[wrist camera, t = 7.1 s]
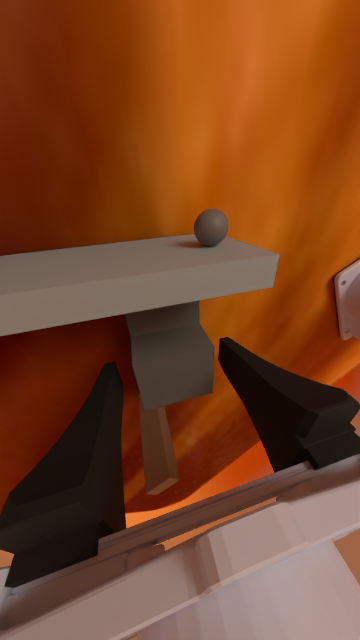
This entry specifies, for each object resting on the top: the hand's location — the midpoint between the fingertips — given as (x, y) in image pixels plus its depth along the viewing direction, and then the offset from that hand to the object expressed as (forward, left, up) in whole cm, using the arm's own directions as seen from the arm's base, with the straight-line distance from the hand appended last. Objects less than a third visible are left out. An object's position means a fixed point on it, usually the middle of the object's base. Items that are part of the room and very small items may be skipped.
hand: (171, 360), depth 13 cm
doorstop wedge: (+2, -1, -3) cm, 4 cm away
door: (+8, -1, -2) cm, 9 cm away
